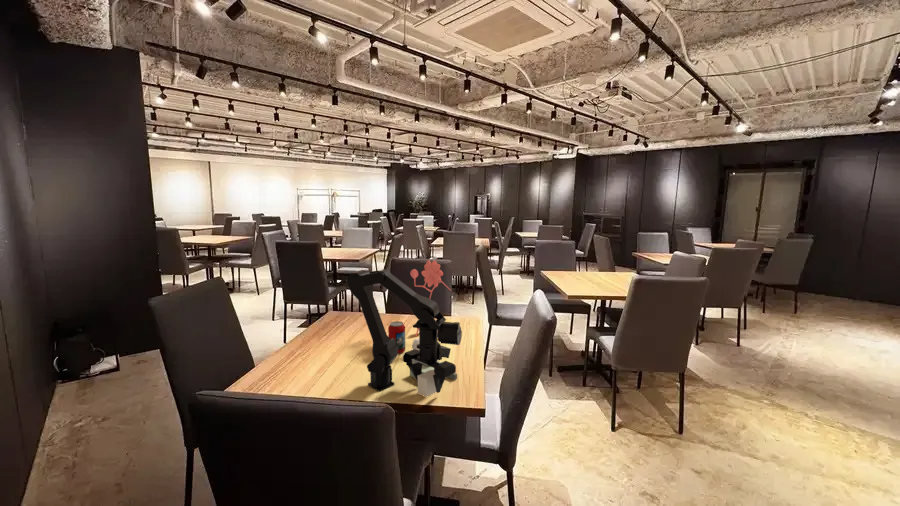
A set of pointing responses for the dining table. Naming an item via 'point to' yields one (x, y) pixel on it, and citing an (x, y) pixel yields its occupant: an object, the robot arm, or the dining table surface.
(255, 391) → the dining table surface
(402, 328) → the beverage can
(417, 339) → the bust
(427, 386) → the upright cream block
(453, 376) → the wall plug adapter
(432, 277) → the figurine
